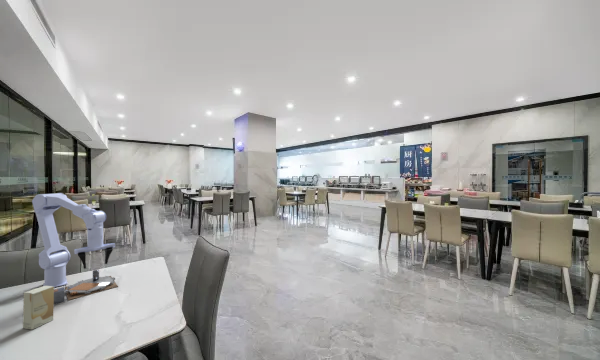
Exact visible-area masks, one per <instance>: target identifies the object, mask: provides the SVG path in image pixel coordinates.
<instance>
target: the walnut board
mask: <svg viewBox="0 0 600 360" xmlns="http://www.w3.org/2000/svg"><path fill="white" fill-rule="evenodd" d="M108 276H109V277H111V278H113V277H112V275H108ZM68 286H69V285H67V286H66V285H65V286H64V290H67V287H68ZM115 288H119V286H118V284H117V283H116V280H114V284H112V285H109V286H107V287H106V288H105V289H102V290H97V291H93V292H91V293H87V294H85V293H83V294H76V295H71V294H70V293H65V294H66V299H67V301H72V300H74V299H78V298H81V297H82V298H83V297H85V296H90V295H94V294H96V293H97V294H98V293H101V292H103V291H108V290H111V289H115Z"/></svg>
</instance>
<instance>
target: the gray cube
mask: <svg viewBox="0 0 600 360" xmlns="http://www.w3.org/2000/svg"><path fill="white" fill-rule="evenodd" d="M65 300H66V299H65V286H63V287H62V286H61V287H59V288H56V289H55V288H54V305H58V304H62V303H65Z"/></svg>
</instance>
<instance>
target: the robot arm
mask: <svg viewBox="0 0 600 360" xmlns="http://www.w3.org/2000/svg"><path fill="white" fill-rule="evenodd" d="M31 203H32V206H33V211H34V213H35V216H36V219H37V222H38V223H37V224H38V228H39V231H40V235H41V240H42V243H43V244H42V245H43V247H44V249H43V250H41V251H40V252H39V253H38V265H39V267H40V268H41V269H42V270H44V273H43V275H44V277H43V278H44V282H43V284H42V285H43V286H54V288H57V287H62V286H66V285H68V283H69V282H68V279H67V269H66V268H67V265H68V262H69V261H70V260H71V253H70V251H69V249H68V247H67V246H66V245H63V244H61V242H60V238H59V234H58V229H57V225H56V222H55V218H54V213H55V212H56V211H57V210H59V209H60V208H61V207H63V208H65V209H66V210H70V211H71V213H72V215H74V216H76V217H78V218H80V219H82V220H83V222H84V224H85V228H86V233H87V235H86V236H87V237H86V238H87V239H86V241H87V246H83V247H80V248H75V249H74V251H73V253H74V255H77V256H78V257H79V259H80V260H81V262H82V265H83V266H82V267H83V269H87V263H86V258H87V257H86V253H88V252H95V251H101V250H104V264H105V265H108V263H109V258H110V256H111V254H112V253H113V249H114V248H116V243H115V242H113V243H104V222H106V220H107V214H106V212H105V211H103V210H96V209H95V208H91V207H90V206H88V205H87V204H86V203H81V204H78V203H76V202H75V201H73V200H72V199H70V198H69V197H68V196H67V194H64V193H63V192H57V193H40V194H39V193H38V194H36V195H34V197H33V199H32V201H31Z"/></svg>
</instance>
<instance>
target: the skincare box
mask: <svg viewBox="0 0 600 360" xmlns="http://www.w3.org/2000/svg"><path fill="white" fill-rule="evenodd" d="M54 289H55V287H54V286H40V287H37V288H33V289H31V290H28V291H25V292H23V304H22V305H23V308H22V309H23V311H22V312H23V314H22V328H23V329H25V330H34V329H36V328H39V327H41V326H43V325H45V324H48V323H49V322H51V321H53V320H54V309H55V308H54Z"/></svg>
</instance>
